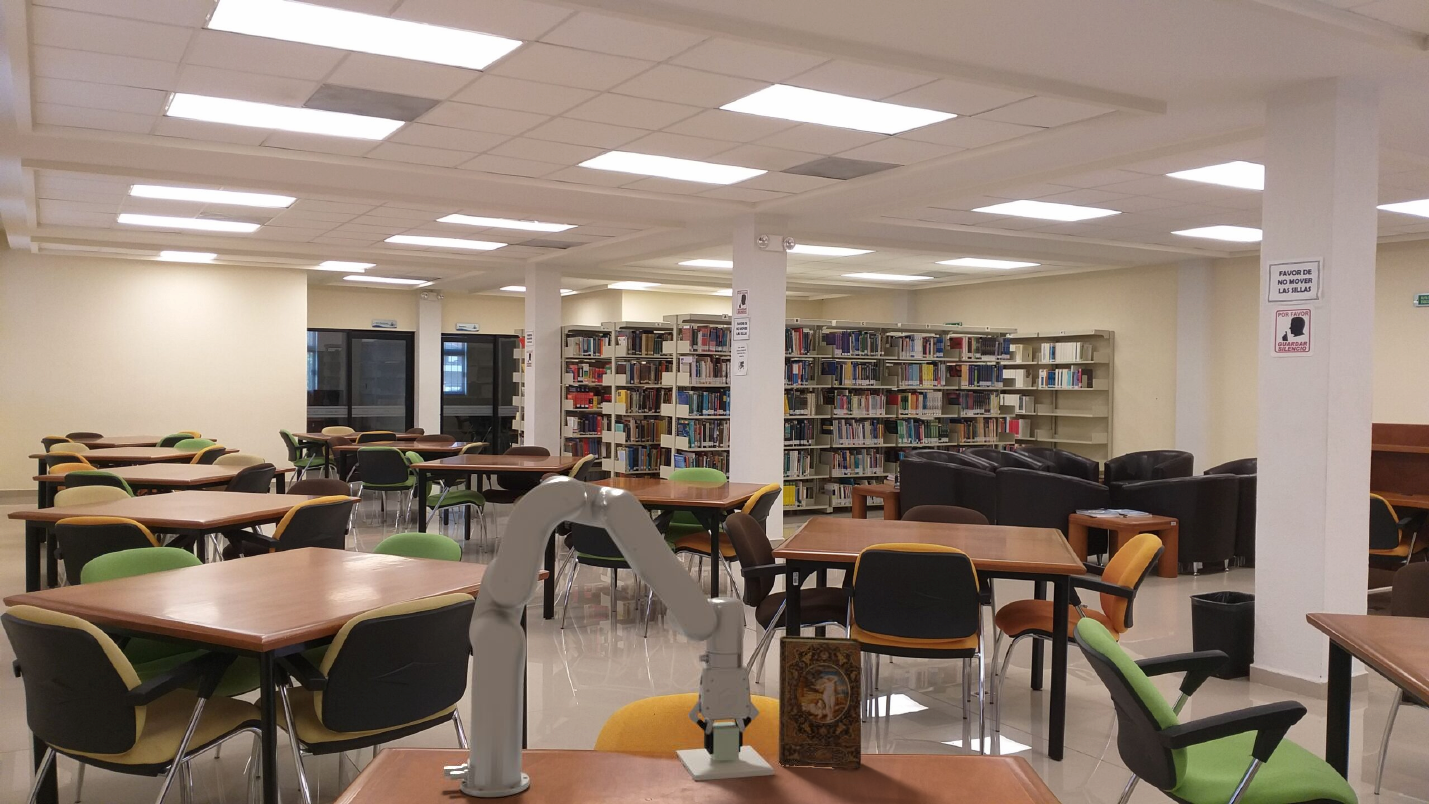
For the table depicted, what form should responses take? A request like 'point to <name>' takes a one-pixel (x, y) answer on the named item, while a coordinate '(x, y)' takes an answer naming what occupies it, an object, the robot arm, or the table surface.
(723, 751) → the block
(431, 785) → the table surface
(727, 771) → the pale board
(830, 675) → the book
